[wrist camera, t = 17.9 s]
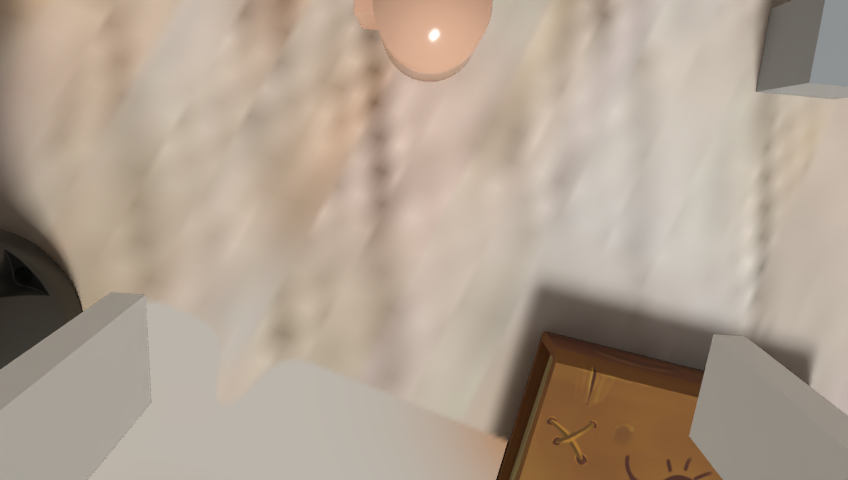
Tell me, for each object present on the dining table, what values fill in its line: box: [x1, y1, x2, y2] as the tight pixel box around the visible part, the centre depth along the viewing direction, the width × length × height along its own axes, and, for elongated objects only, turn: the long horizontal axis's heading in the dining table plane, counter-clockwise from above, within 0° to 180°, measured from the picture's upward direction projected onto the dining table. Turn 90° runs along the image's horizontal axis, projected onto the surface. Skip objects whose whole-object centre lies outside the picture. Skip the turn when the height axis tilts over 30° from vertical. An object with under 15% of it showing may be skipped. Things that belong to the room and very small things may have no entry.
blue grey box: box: [756, 0, 848, 99], centre depth 40 cm, size 6×6×6 cm
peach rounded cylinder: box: [354, 0, 492, 82], centre depth 37 cm, size 8×7×9 cm
